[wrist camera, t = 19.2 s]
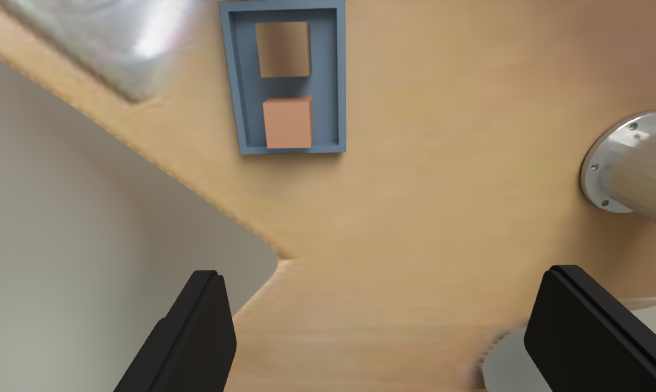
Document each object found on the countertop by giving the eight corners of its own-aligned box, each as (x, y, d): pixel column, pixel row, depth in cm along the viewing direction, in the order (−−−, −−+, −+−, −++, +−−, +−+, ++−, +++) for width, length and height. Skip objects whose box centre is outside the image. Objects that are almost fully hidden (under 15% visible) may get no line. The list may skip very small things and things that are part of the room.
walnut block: (309, 25, 33) (306, 21, 28) (312, 72, 35) (308, 76, 30) (265, 26, 33) (255, 23, 28) (270, 73, 35) (261, 77, 30)
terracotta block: (312, 95, 36) (309, 102, 31) (313, 135, 38) (310, 147, 33) (271, 96, 36) (262, 103, 31) (275, 136, 38) (267, 148, 33)
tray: (344, 1, 32) (345, -3, 30) (345, 145, 39) (346, 152, 36) (226, 5, 33) (218, 2, 30) (246, 148, 39) (240, 154, 37)
